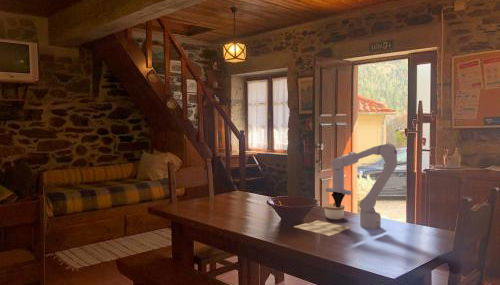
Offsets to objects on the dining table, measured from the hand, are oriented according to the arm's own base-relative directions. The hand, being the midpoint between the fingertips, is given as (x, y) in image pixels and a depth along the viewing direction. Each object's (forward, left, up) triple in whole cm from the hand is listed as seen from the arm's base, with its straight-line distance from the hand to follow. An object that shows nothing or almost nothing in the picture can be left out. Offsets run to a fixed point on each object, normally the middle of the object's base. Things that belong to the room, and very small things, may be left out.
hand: (338, 207), depth 203 cm
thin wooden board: (0, +18, -9) cm, 20 cm away
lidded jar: (+8, -8, -10) cm, 15 cm away
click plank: (0, +8, -9) cm, 12 cm away
